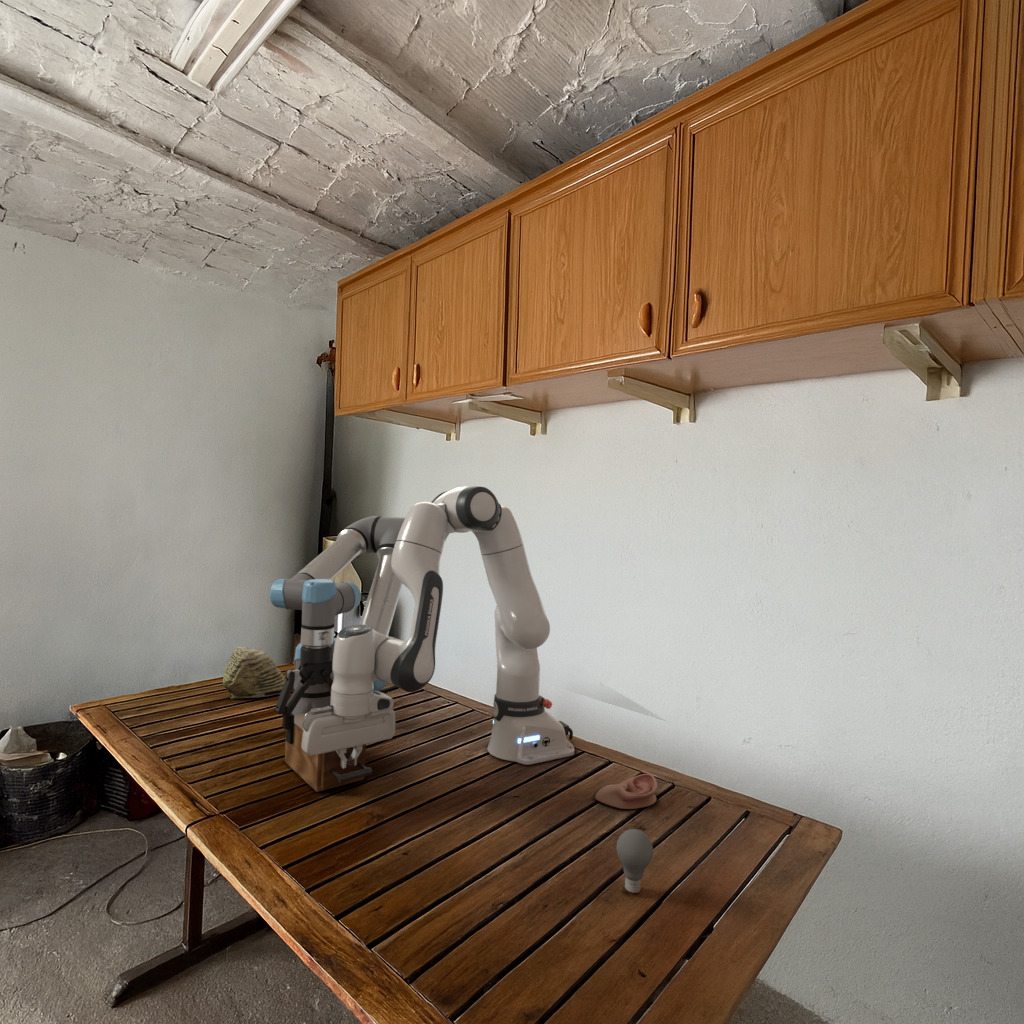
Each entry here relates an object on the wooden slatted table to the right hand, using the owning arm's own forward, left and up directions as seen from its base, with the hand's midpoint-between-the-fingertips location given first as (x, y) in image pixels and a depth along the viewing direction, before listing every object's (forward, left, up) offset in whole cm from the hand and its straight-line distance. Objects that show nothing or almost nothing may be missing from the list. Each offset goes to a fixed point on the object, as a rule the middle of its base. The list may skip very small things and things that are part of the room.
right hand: (348, 766), depth 136 cm
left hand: (+6, -18, 0) cm, 20 cm away
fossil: (+21, -74, -6) cm, 77 cm away
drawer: (+2, -8, -5) cm, 10 cm away
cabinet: (+4, -13, -6) cm, 15 cm away
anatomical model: (-58, +18, -6) cm, 61 cm away
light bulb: (-42, +48, -6) cm, 63 cm away
